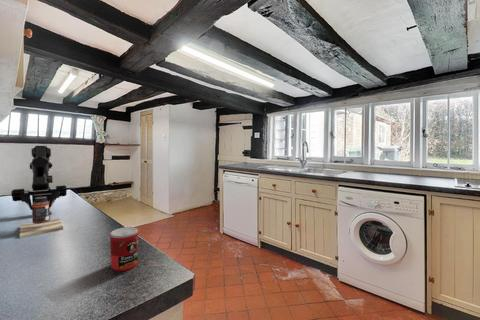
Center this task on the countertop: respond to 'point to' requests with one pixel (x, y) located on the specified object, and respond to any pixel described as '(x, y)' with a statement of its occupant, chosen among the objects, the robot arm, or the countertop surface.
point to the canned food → (124, 248)
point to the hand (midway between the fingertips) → (40, 208)
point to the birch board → (40, 228)
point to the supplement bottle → (40, 210)
